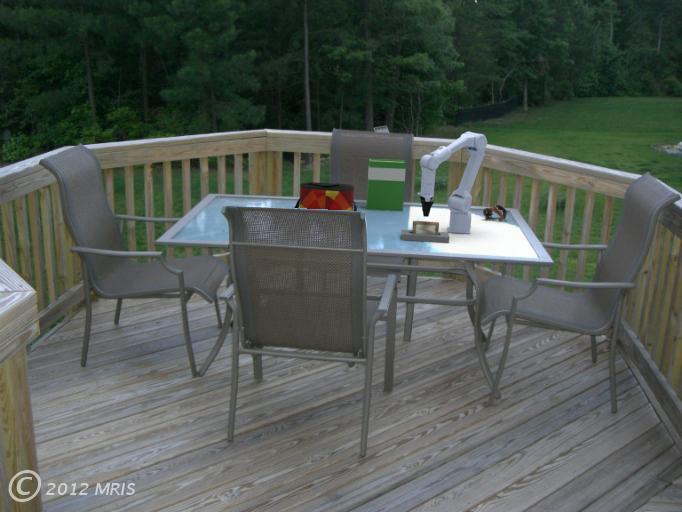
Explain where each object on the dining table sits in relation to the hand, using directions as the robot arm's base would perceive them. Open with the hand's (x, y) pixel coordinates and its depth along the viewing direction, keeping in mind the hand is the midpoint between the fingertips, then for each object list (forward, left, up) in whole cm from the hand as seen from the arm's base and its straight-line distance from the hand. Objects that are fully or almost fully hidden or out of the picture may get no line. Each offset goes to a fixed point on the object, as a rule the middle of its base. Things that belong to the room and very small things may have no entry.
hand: (425, 214), depth 321 cm
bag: (+46, -22, -10) cm, 51 cm away
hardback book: (+18, -47, -10) cm, 51 cm away
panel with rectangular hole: (0, +6, -9) cm, 11 cm away
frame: (0, +6, -9) cm, 11 cm away
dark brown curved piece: (-35, -38, -10) cm, 52 cm away
